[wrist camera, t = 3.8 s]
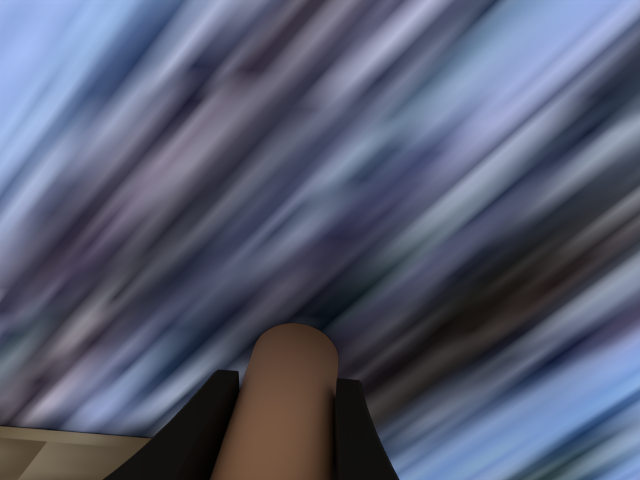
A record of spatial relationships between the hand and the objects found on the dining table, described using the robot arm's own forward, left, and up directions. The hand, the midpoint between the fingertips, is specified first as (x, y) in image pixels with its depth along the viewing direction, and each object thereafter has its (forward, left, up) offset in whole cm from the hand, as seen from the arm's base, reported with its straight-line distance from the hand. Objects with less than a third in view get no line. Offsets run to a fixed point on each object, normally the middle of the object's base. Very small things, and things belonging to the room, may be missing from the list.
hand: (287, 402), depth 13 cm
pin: (0, 0, -2) cm, 2 cm away
